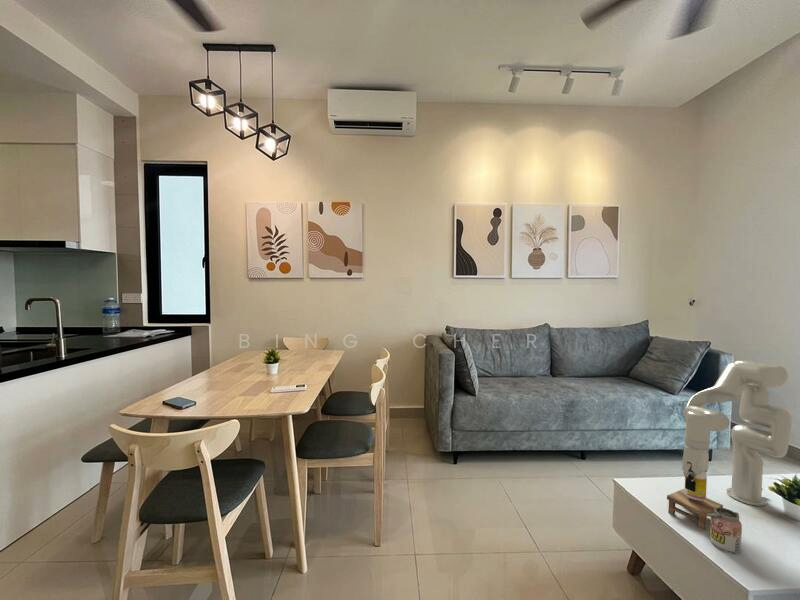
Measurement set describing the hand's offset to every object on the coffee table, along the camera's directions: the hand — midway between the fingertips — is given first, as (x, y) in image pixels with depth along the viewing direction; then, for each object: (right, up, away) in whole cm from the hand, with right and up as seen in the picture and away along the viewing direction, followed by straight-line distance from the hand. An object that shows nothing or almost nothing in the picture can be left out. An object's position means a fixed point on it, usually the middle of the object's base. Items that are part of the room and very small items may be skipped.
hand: (695, 487), depth 144 cm
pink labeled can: (-3, -13, -15) cm, 20 cm away
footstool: (0, -12, 0) cm, 12 cm away
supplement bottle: (0, -4, 0) cm, 4 cm away
